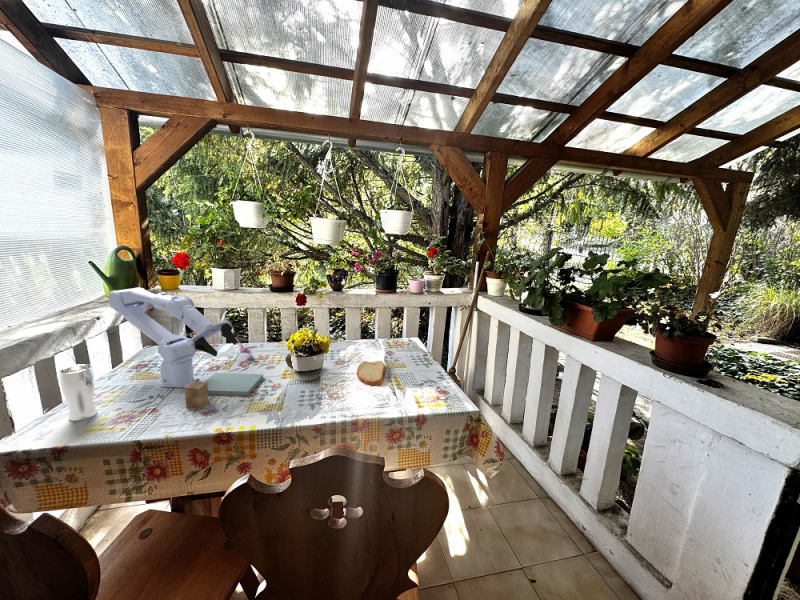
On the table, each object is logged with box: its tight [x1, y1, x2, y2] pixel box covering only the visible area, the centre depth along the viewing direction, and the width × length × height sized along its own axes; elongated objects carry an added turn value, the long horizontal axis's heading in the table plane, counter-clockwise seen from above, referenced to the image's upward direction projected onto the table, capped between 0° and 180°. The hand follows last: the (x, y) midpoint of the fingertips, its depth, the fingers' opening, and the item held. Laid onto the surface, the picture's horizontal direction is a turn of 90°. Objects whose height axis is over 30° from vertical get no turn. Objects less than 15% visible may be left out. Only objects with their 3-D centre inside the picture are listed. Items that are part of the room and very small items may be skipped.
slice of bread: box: [356, 360, 386, 387], centre depth 136 cm, size 18×18×4 cm
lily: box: [234, 338, 255, 361], centre depth 145 cm, size 12×12×10 cm
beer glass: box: [59, 363, 98, 422], centre depth 98 cm, size 7×7×15 cm
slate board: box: [204, 372, 264, 396], centre depth 122 cm, size 18×14×2 cm
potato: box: [285, 352, 294, 370], centre depth 136 cm, size 8×13×8 cm, turn 94°
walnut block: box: [184, 381, 209, 410], centre depth 107 cm, size 4×4×7 cm
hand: (226, 348), depth 113 cm, fingers open, 7 cm apart
